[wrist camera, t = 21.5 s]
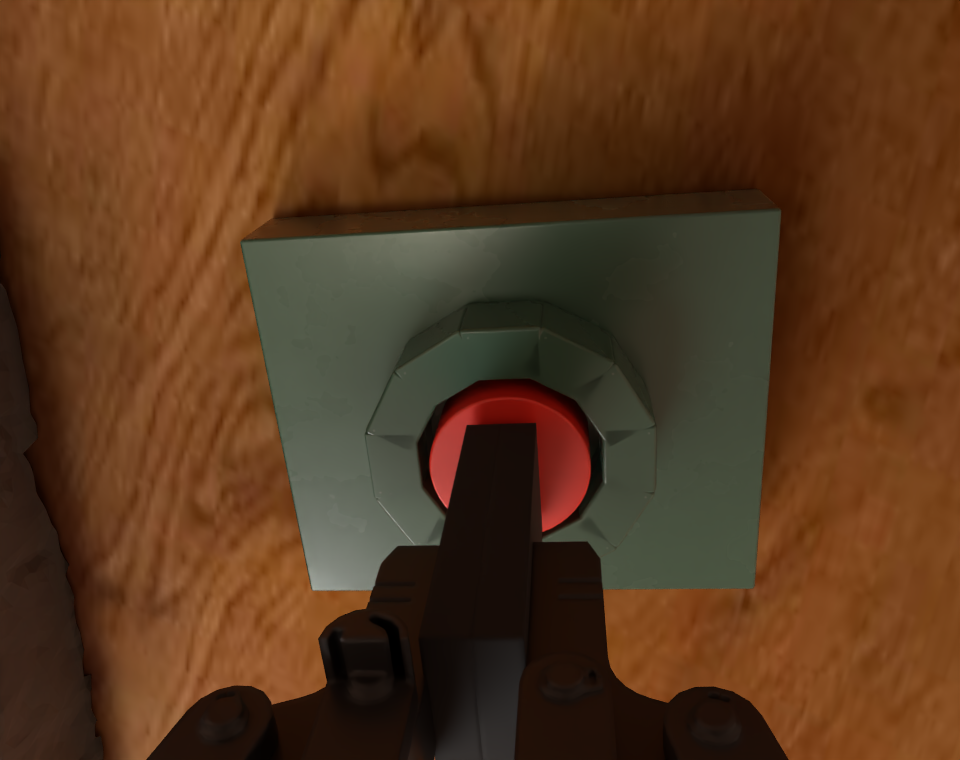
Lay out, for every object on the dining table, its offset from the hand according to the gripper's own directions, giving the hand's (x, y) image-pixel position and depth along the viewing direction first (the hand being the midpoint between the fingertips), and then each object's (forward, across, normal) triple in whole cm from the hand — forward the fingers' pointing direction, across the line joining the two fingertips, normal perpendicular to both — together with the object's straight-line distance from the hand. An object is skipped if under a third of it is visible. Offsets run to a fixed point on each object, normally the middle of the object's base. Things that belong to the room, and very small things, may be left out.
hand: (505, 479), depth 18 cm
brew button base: (+5, 0, 0) cm, 5 cm away
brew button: (+2, 0, 0) cm, 2 cm away
